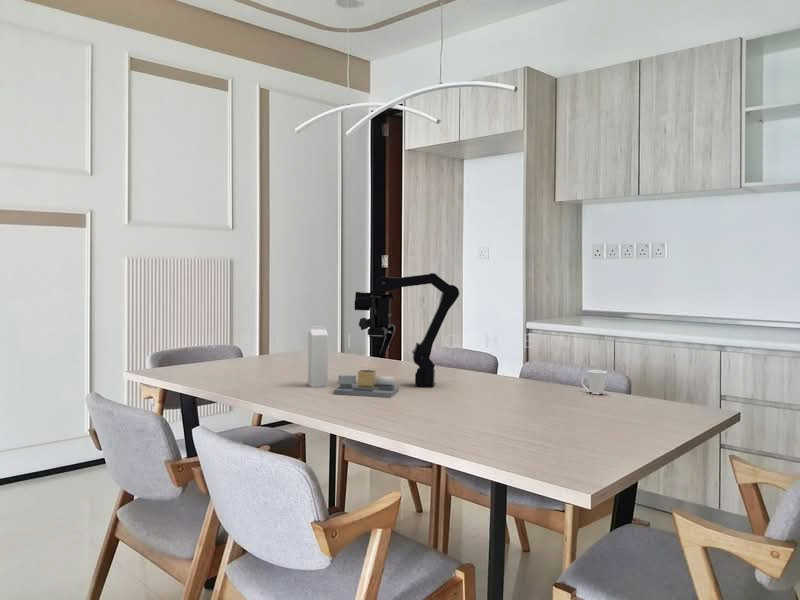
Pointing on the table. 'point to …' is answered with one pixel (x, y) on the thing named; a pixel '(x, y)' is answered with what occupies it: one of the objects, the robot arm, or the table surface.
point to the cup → (595, 380)
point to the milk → (317, 356)
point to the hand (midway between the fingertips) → (381, 352)
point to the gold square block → (367, 378)
